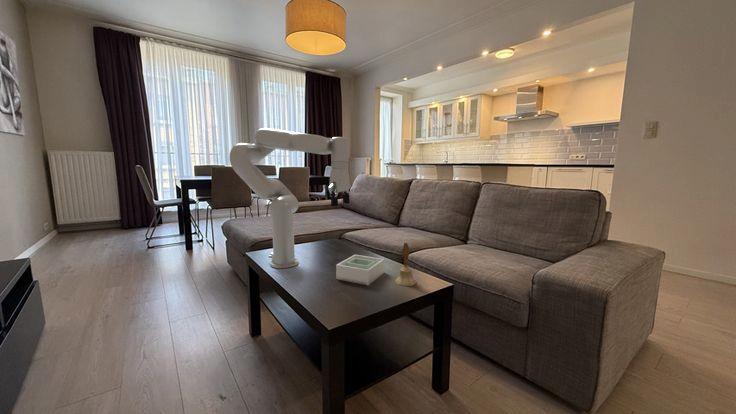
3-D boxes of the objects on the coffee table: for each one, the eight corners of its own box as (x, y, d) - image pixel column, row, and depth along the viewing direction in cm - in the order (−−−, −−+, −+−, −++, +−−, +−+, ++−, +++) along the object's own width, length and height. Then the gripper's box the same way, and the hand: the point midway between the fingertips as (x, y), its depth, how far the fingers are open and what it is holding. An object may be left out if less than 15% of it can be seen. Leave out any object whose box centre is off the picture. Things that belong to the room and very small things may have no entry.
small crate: (346, 274, 125) (346, 262, 125) (354, 268, 132) (354, 257, 131) (367, 278, 121) (367, 266, 120) (375, 272, 127) (375, 261, 126)
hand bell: (406, 288, 114) (407, 247, 112) (390, 281, 120) (391, 242, 118) (420, 282, 119) (421, 243, 117) (405, 276, 126) (405, 239, 123)
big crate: (336, 279, 123) (336, 264, 122) (355, 267, 137) (354, 254, 136) (368, 285, 116) (368, 270, 115) (384, 272, 130) (384, 259, 129)
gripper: (343, 165, 142) (343, 202, 144) (321, 166, 126) (322, 206, 129) (357, 165, 138) (357, 202, 141) (336, 166, 123) (337, 207, 125)
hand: (340, 204), depth 135 cm, fingers open, 9 cm apart
